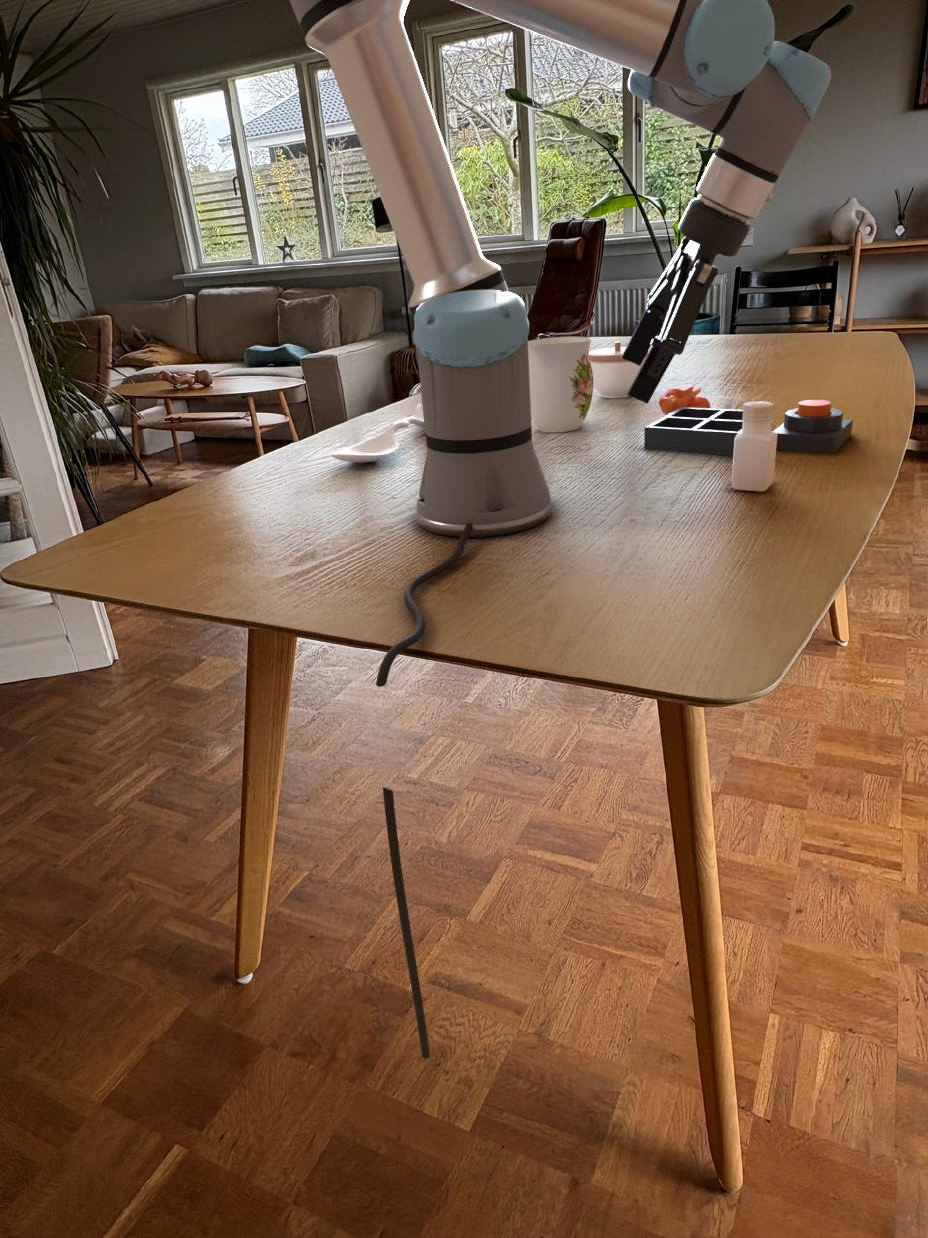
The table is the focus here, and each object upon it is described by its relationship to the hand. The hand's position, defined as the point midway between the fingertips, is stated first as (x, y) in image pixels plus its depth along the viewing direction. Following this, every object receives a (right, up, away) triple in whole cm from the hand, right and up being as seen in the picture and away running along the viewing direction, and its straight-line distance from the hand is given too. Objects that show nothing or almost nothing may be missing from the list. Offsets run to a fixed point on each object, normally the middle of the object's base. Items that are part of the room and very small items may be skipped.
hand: (633, 378), depth 104 cm
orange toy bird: (+13, +1, +24) cm, 27 cm away
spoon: (-32, -3, +24) cm, 40 cm away
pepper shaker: (+12, -16, -10) cm, 22 cm away
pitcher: (-6, 0, +26) cm, 26 cm away
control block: (+25, -7, +5) cm, 26 cm away
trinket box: (+6, +10, +45) cm, 46 cm away
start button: (+25, -4, +3) cm, 25 cm away
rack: (+13, -6, +10) cm, 17 cm away
